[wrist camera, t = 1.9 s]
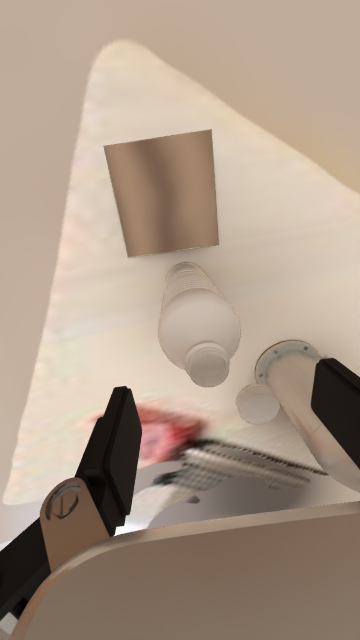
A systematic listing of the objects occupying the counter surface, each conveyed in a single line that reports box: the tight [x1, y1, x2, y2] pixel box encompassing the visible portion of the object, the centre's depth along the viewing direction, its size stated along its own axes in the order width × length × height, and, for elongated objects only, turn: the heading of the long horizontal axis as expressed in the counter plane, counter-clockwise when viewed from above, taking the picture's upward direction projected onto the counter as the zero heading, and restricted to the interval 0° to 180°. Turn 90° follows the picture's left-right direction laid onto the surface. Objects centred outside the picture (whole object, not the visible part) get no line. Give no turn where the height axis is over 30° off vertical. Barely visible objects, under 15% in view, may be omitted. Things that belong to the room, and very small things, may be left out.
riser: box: [104, 129, 219, 258], centre depth 27 cm, size 11×11×8 cm
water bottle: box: [158, 263, 280, 424], centre depth 24 cm, size 9×6×25 cm
